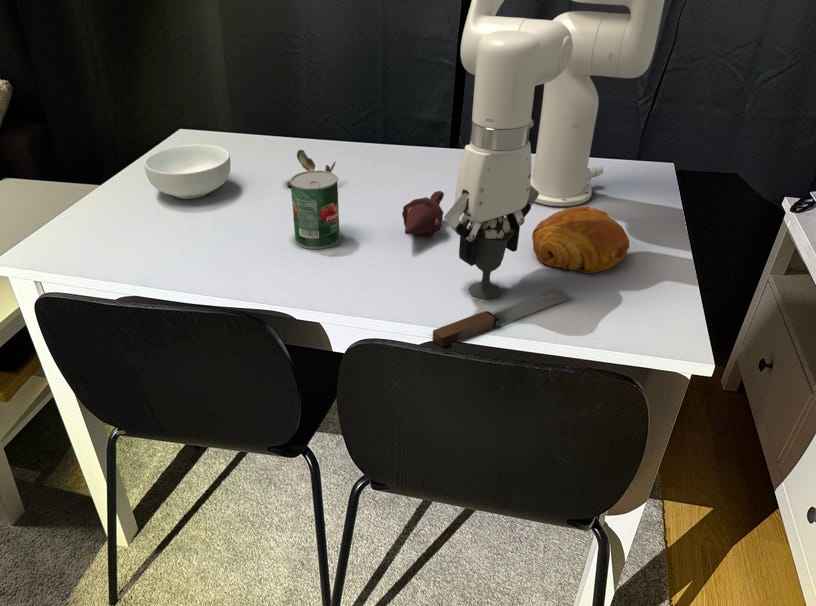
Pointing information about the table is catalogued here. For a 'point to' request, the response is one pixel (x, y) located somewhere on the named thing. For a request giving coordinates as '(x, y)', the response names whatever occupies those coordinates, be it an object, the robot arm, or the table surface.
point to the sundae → (490, 254)
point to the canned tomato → (315, 209)
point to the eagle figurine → (309, 163)
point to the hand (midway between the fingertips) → (488, 253)
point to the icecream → (424, 216)
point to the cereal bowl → (188, 170)
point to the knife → (493, 319)
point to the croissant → (580, 240)
